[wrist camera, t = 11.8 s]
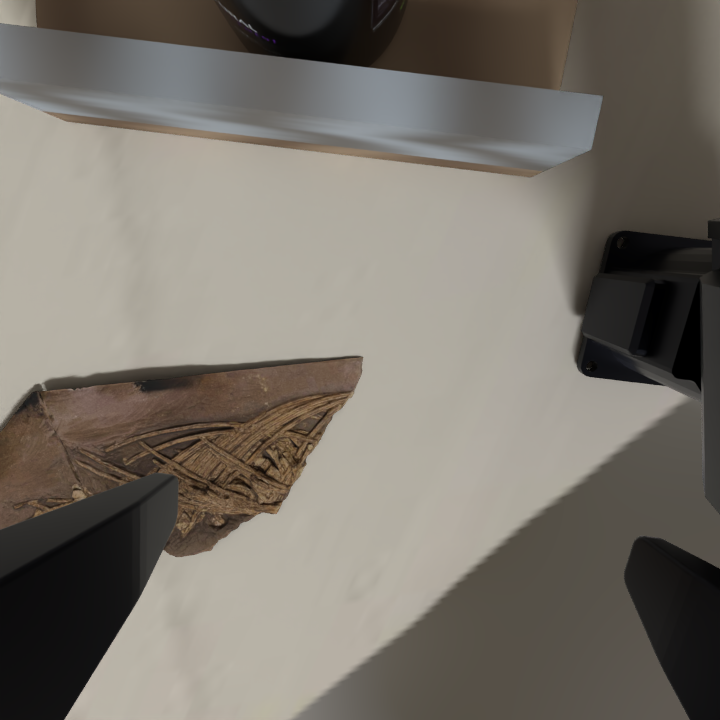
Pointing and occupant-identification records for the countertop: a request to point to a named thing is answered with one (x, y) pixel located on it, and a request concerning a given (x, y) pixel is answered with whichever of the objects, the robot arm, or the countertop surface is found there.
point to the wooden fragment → (175, 443)
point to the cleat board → (316, 82)
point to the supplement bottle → (316, 28)
